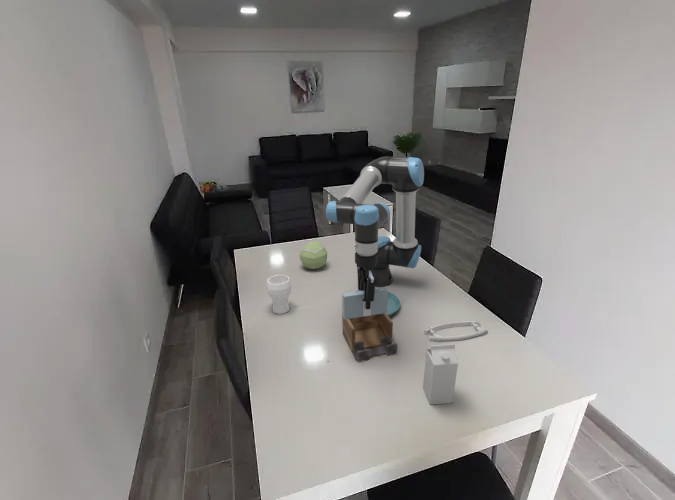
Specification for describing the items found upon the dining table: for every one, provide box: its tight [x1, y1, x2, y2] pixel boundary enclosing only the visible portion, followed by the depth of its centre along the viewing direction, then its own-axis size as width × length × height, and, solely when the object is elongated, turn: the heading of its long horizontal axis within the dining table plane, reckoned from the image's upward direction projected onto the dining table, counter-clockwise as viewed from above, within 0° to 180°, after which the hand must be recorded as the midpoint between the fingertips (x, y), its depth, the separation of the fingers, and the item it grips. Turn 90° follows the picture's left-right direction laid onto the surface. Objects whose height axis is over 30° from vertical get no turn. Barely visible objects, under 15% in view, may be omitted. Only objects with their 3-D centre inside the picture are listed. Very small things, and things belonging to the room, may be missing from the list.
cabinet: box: [341, 313, 398, 363], centre depth 133 cm, size 16×18×10 cm
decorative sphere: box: [299, 241, 328, 270], centre depth 197 cm, size 15×15×15 cm
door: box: [341, 286, 389, 320], centre depth 124 cm, size 16×2×9 cm, turn 105°
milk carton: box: [422, 343, 459, 405], centre depth 106 cm, size 7×7×19 cm
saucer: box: [354, 289, 401, 317], centre depth 158 cm, size 24×24×3 cm
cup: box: [266, 274, 292, 315], centre depth 156 cm, size 11×11×15 cm
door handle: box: [423, 320, 488, 343], centre depth 139 cm, size 3×10×25 cm
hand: (365, 313), depth 125 cm, fingers closed on door, 2 cm apart
